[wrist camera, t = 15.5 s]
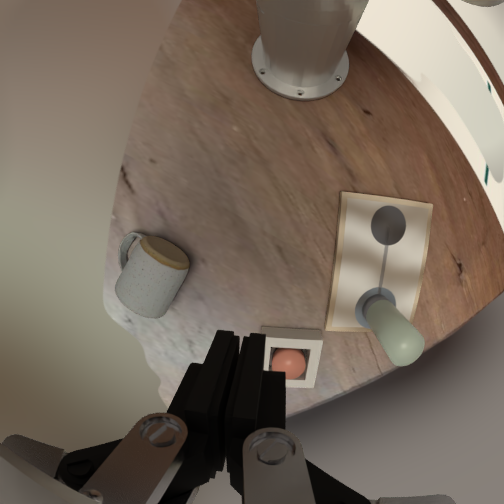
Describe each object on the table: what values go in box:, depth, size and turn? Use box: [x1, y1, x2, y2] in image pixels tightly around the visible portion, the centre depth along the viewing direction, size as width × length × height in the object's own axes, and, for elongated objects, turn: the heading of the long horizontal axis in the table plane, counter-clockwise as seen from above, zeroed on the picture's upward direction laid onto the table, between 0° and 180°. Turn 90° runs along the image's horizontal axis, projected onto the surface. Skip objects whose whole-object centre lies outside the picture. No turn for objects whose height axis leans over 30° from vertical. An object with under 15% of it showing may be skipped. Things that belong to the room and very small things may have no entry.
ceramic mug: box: [115, 232, 190, 318], centre depth 33 cm, size 11×8×8 cm
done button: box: [272, 348, 305, 379], centre depth 36 cm, size 4×4×2 cm
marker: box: [362, 294, 424, 366], centre depth 29 cm, size 4×4×11 cm
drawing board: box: [324, 192, 433, 332], centre depth 34 cm, size 18×13×1 cm
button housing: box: [261, 326, 323, 388], centre depth 37 cm, size 8×8×3 cm
